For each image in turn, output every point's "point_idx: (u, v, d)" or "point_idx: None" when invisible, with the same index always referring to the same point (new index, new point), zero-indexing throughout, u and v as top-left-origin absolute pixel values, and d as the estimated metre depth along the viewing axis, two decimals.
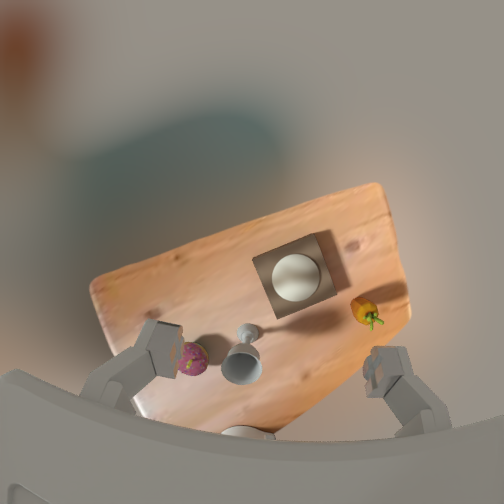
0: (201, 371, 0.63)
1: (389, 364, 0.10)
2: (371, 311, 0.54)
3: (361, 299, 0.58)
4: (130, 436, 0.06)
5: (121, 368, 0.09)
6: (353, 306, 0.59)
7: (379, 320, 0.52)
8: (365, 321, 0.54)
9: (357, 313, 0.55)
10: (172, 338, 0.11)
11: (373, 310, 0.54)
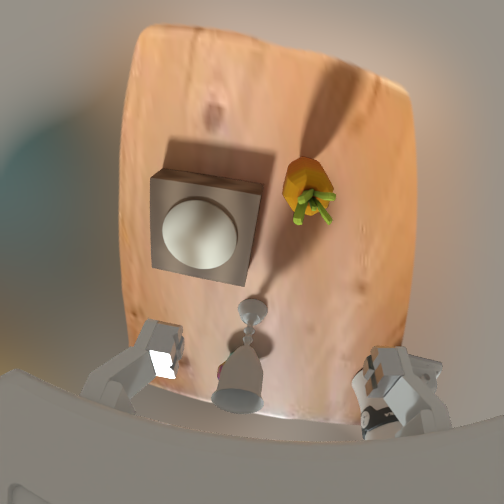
0: None
1: (389, 364, 0.10)
2: (304, 187, 0.26)
3: None
4: (130, 436, 0.06)
5: (121, 368, 0.09)
6: None
7: (323, 196, 0.24)
8: None
9: (292, 209, 0.28)
10: (172, 338, 0.11)
11: (304, 183, 0.26)
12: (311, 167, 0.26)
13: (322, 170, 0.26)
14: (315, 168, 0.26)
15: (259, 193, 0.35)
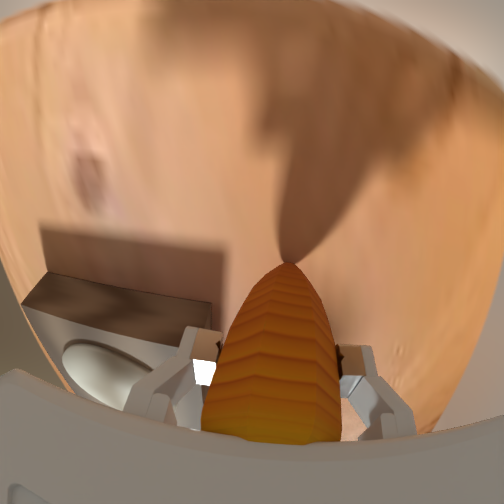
0: None
1: (350, 363, 0.10)
2: None
3: None
4: (130, 436, 0.06)
5: (165, 380, 0.09)
6: None
7: None
8: None
9: None
10: (215, 346, 0.10)
11: None
12: (273, 403, 0.07)
13: (310, 408, 0.07)
14: (286, 404, 0.07)
15: None
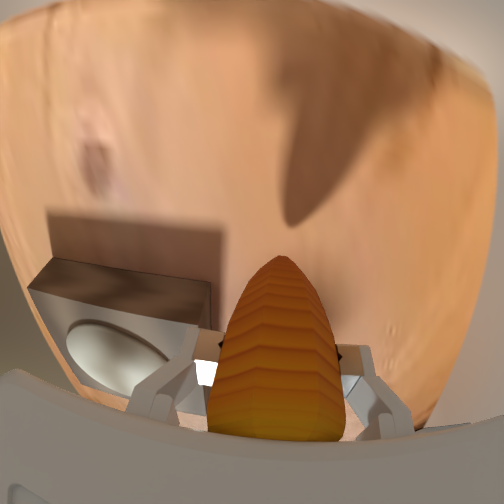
0: None
1: (349, 363, 0.10)
2: None
3: None
4: (130, 436, 0.06)
5: (168, 380, 0.09)
6: None
7: None
8: None
9: None
10: (218, 346, 0.10)
11: None
12: (276, 393, 0.08)
13: (313, 395, 0.08)
14: (290, 394, 0.08)
15: (196, 318, 0.17)
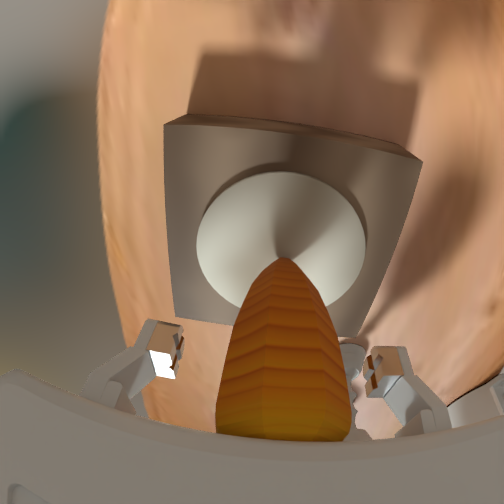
0: None
1: (389, 364, 0.10)
2: None
3: None
4: (130, 436, 0.06)
5: (121, 368, 0.09)
6: None
7: None
8: None
9: None
10: (172, 338, 0.11)
11: None
12: (284, 392, 0.08)
13: (320, 393, 0.08)
14: (297, 392, 0.08)
15: (416, 158, 0.14)
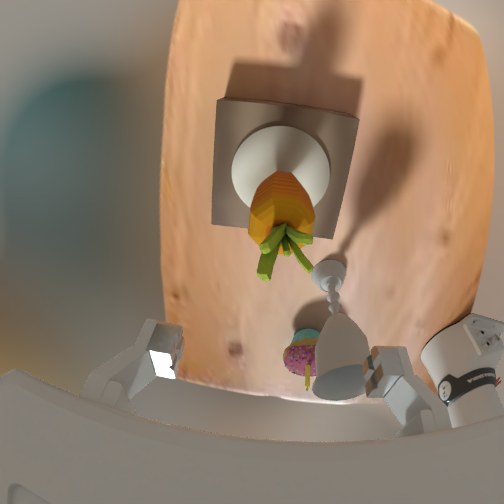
0: None
1: (389, 364, 0.10)
2: (273, 223, 0.20)
3: None
4: (130, 436, 0.06)
5: (121, 368, 0.09)
6: None
7: (296, 239, 0.17)
8: None
9: None
10: (172, 338, 0.11)
11: (272, 217, 0.19)
12: (281, 192, 0.20)
13: (297, 194, 0.20)
14: (287, 193, 0.20)
15: (355, 118, 0.26)
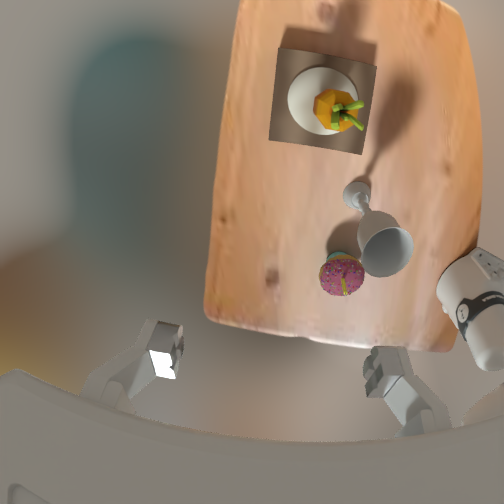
0: (362, 275, 0.50)
1: (389, 364, 0.10)
2: (334, 105, 0.26)
3: (314, 102, 0.30)
4: (130, 436, 0.06)
5: (121, 368, 0.09)
6: None
7: (353, 105, 0.24)
8: (346, 122, 0.27)
9: (325, 127, 0.29)
10: (172, 338, 0.11)
11: (333, 101, 0.26)
12: (337, 90, 0.27)
13: (346, 92, 0.27)
14: None
15: (374, 66, 0.33)
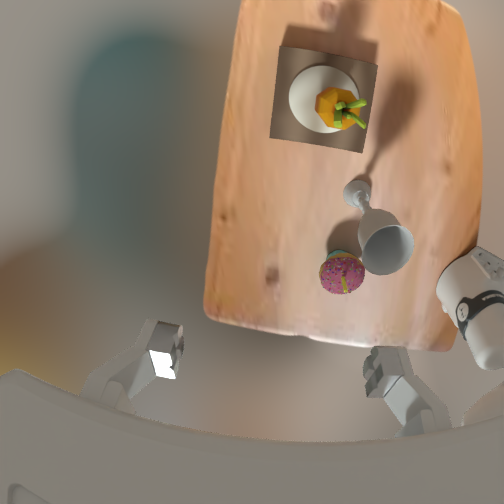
0: (362, 273, 0.50)
1: (389, 364, 0.10)
2: (336, 103, 0.26)
3: (316, 100, 0.30)
4: (130, 436, 0.06)
5: (121, 368, 0.09)
6: None
7: (356, 103, 0.24)
8: (349, 120, 0.27)
9: (327, 125, 0.29)
10: (172, 338, 0.11)
11: (335, 99, 0.26)
12: (339, 88, 0.27)
13: (348, 90, 0.27)
14: (342, 89, 0.27)
15: None
